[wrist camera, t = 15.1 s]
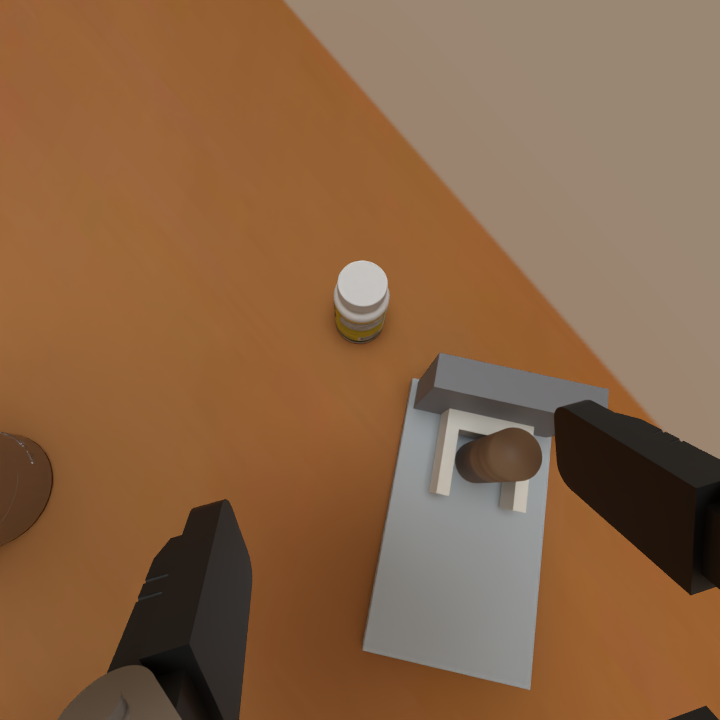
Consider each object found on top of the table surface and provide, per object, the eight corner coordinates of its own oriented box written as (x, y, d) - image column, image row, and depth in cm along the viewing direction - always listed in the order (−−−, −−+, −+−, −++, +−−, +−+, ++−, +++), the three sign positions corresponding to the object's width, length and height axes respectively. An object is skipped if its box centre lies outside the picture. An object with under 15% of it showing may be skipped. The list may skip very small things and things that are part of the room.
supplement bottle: (347, 291, 42) (348, 246, 34) (391, 310, 41) (402, 268, 33) (327, 333, 40) (322, 296, 32) (372, 352, 40) (379, 319, 32)
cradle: (510, 510, 35) (525, 513, 32) (428, 492, 35) (436, 493, 32) (519, 431, 37) (534, 426, 34) (441, 413, 37) (449, 408, 34)
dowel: (481, 491, 36) (525, 492, 27) (447, 466, 36) (479, 459, 28) (502, 458, 37) (551, 448, 28) (468, 433, 37) (506, 417, 28)
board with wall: (523, 682, 33) (599, 768, 23) (362, 644, 33) (369, 713, 23) (547, 410, 39) (615, 387, 29) (411, 381, 39) (433, 347, 30)
